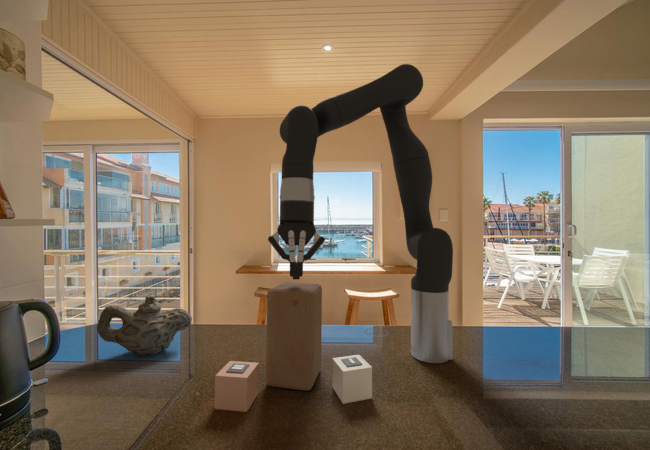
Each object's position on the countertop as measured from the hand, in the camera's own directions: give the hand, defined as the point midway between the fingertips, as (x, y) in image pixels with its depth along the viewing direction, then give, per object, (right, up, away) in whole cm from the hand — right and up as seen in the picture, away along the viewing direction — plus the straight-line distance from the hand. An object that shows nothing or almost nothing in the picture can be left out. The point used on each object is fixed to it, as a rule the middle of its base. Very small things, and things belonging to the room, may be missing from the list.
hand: (295, 278), depth 63 cm
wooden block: (0, -22, -1) cm, 22 cm away
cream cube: (+12, -22, -6) cm, 25 cm away
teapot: (-40, -22, +12) cm, 47 cm away
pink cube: (-10, -21, -9) cm, 25 cm away
